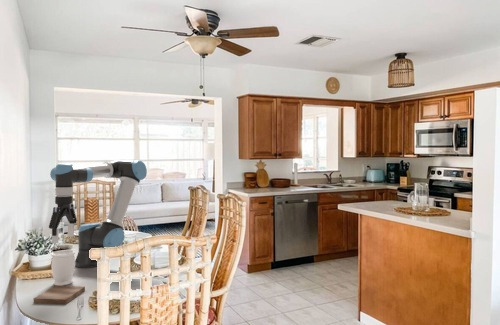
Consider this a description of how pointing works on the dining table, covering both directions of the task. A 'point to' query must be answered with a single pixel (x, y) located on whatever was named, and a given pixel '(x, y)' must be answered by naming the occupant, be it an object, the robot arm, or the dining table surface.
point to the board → (59, 294)
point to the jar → (63, 266)
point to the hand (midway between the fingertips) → (63, 239)
